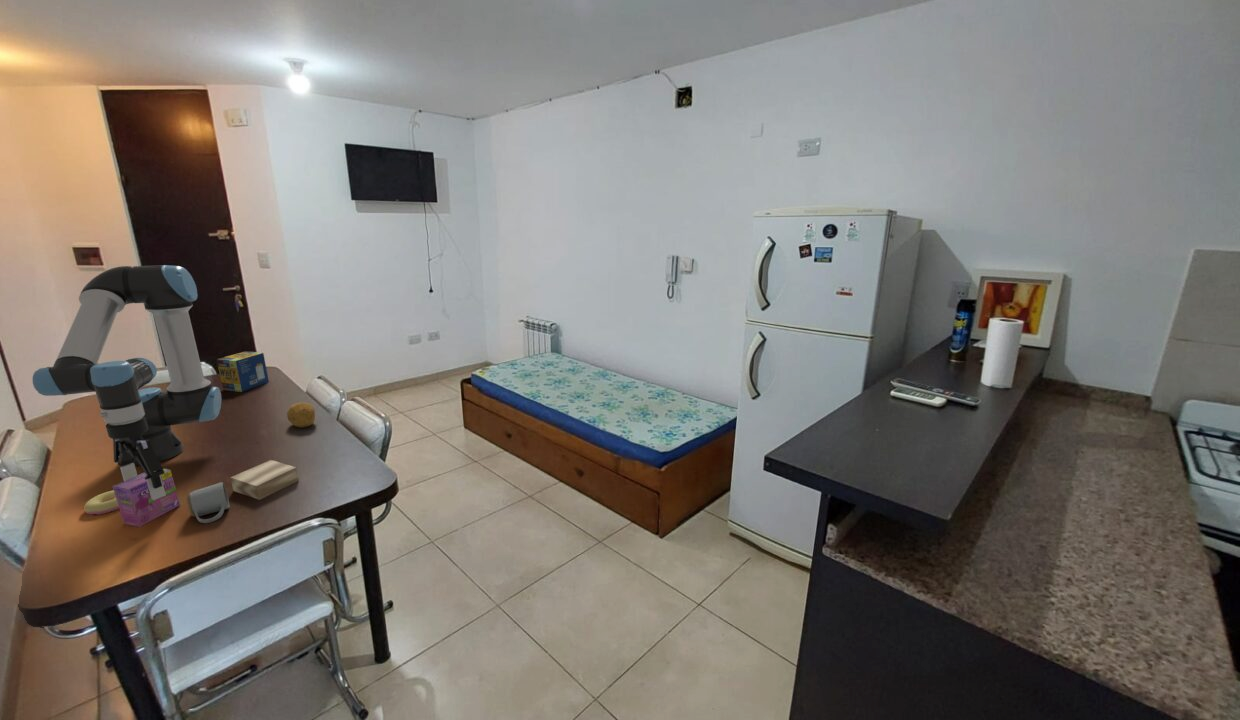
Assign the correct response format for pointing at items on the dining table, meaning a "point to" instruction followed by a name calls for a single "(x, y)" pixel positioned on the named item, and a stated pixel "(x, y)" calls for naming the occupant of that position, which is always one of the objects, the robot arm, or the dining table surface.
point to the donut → (102, 503)
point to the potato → (301, 414)
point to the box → (144, 499)
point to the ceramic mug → (208, 502)
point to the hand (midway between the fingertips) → (145, 491)
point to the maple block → (264, 479)
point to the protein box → (242, 371)
